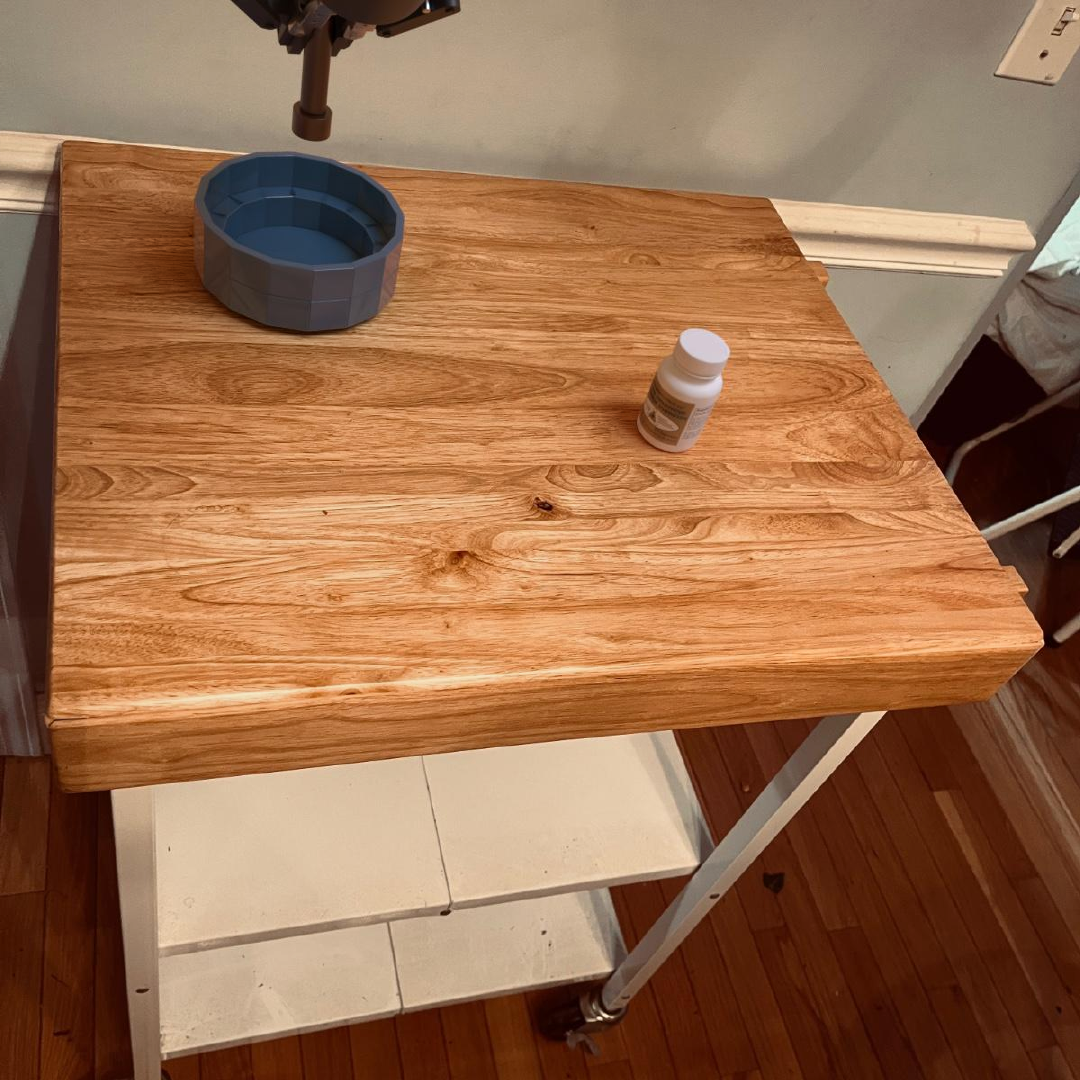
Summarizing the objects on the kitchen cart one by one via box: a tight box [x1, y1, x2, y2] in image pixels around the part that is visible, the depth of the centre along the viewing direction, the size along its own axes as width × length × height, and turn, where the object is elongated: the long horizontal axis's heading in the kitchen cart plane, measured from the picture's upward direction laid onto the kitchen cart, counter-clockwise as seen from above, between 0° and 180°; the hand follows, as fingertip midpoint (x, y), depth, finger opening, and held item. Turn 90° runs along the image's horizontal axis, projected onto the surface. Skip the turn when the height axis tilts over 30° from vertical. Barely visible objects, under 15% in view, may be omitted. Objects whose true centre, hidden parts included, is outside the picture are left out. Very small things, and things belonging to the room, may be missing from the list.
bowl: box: [193, 150, 406, 332], centre depth 73 cm, size 14×14×6 cm
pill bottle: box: [636, 327, 731, 453], centre depth 71 cm, size 4×4×8 cm
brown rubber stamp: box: [291, 15, 335, 143], centre depth 64 cm, size 2×2×9 cm
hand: (309, 38), depth 65 cm, fingers closed on brown rubber stamp, 1 cm apart
